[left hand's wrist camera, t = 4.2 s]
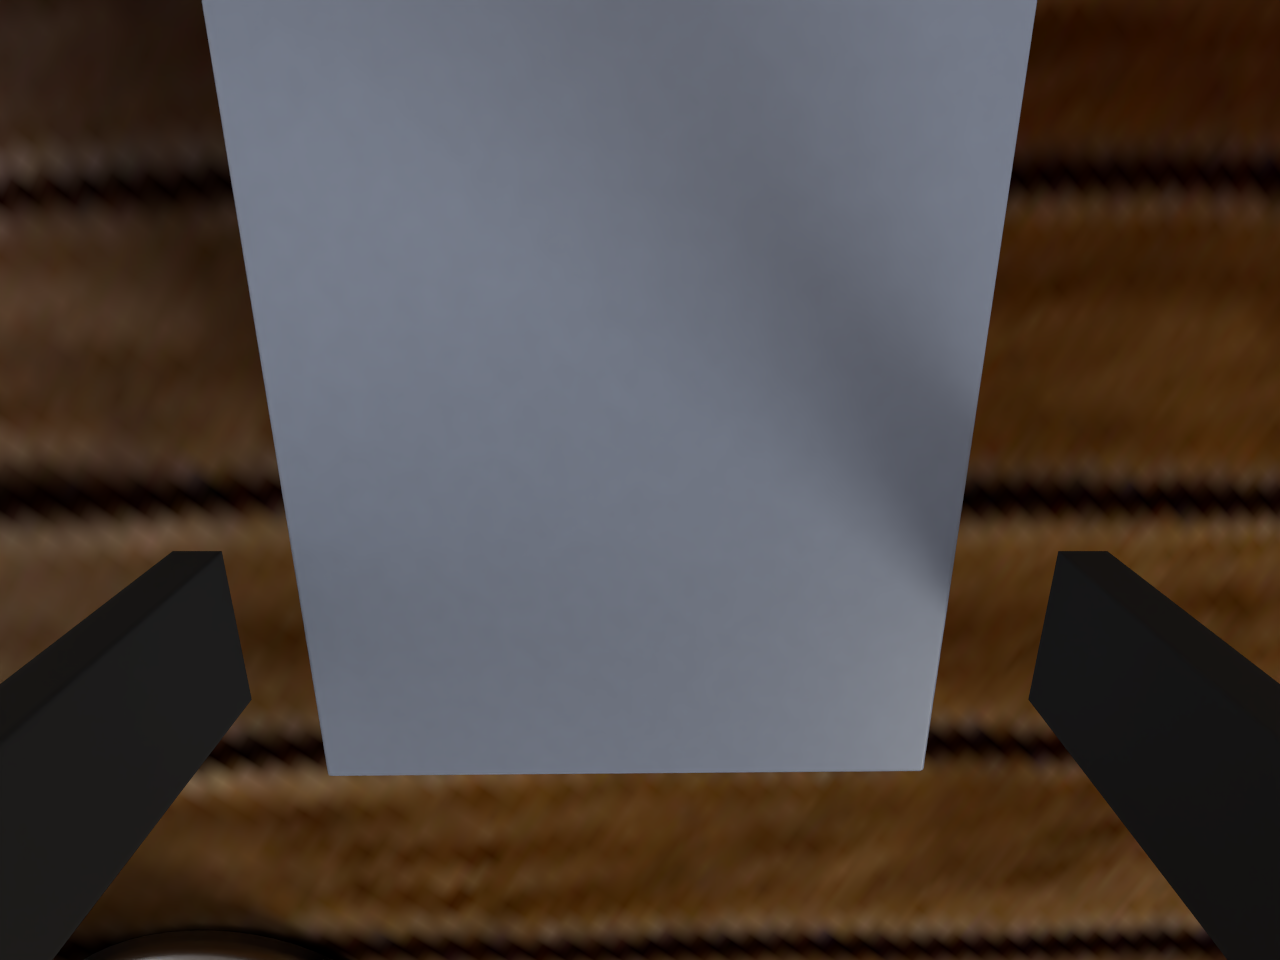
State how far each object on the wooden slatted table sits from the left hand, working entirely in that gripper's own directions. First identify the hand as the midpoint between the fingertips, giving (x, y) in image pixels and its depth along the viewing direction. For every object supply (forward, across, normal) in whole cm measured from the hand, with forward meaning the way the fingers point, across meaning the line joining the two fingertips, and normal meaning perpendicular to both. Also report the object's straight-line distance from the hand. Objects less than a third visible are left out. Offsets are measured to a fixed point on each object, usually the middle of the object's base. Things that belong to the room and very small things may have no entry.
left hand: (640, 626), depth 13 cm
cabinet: (+10, 0, -7) cm, 12 cm away
